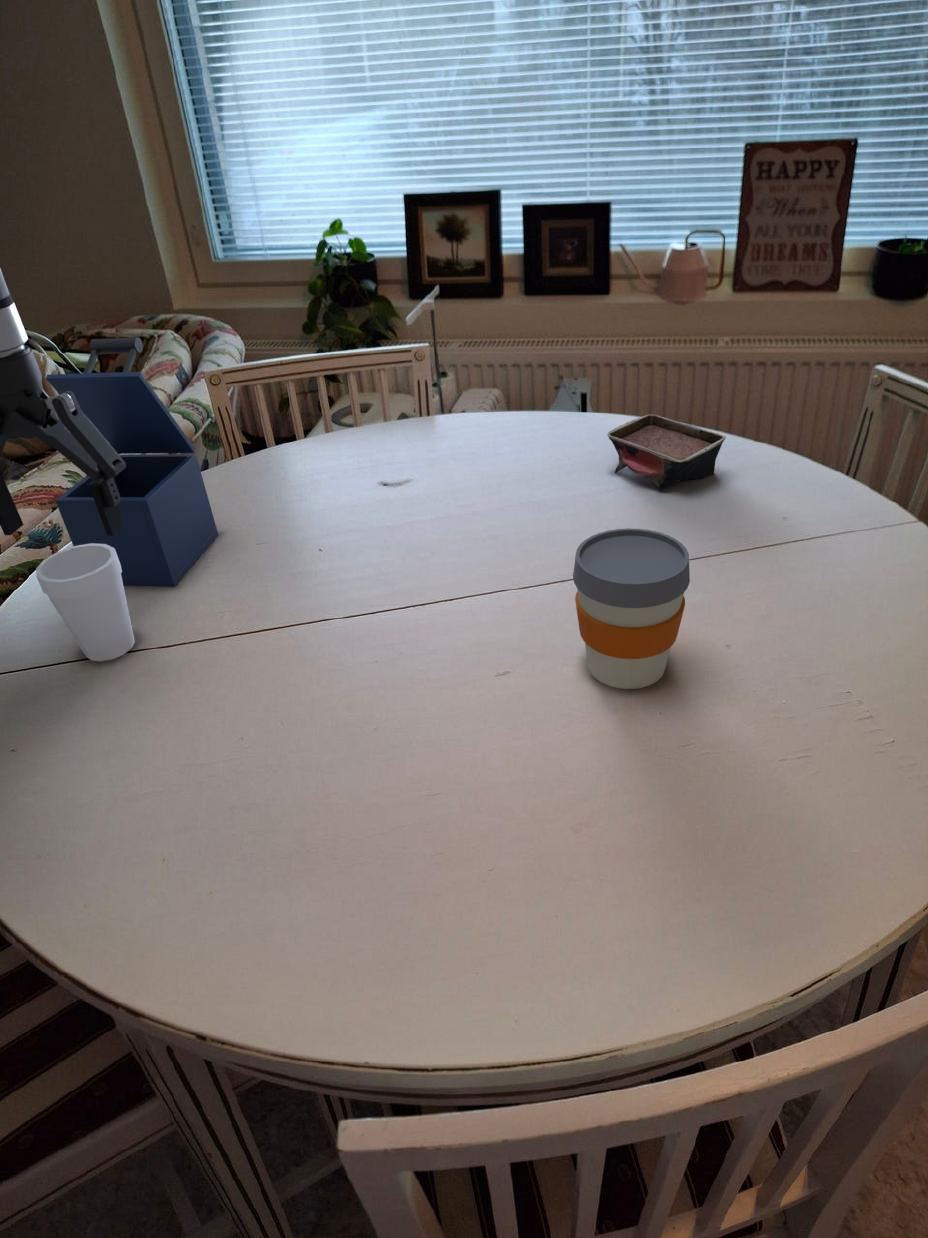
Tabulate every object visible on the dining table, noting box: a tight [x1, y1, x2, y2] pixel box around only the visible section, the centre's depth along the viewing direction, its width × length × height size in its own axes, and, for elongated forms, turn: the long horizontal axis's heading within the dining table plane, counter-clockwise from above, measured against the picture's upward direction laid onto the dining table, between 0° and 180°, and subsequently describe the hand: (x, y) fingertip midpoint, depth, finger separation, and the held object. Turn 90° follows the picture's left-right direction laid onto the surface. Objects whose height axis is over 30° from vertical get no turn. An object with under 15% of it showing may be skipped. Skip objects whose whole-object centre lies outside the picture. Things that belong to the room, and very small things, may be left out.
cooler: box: [54, 453, 219, 587], centre depth 122 cm, size 16×14×14 cm
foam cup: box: [35, 543, 136, 662], centre depth 102 cm, size 10×9×13 cm
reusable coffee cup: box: [572, 528, 691, 690], centre depth 90 cm, size 13×13×15 cm
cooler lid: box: [45, 337, 197, 455], centre depth 118 cm, size 17×14×9 cm
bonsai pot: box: [606, 413, 727, 491], centre depth 135 cm, size 14×18×10 cm
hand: (64, 530), depth 96 cm, fingers open, 13 cm apart
